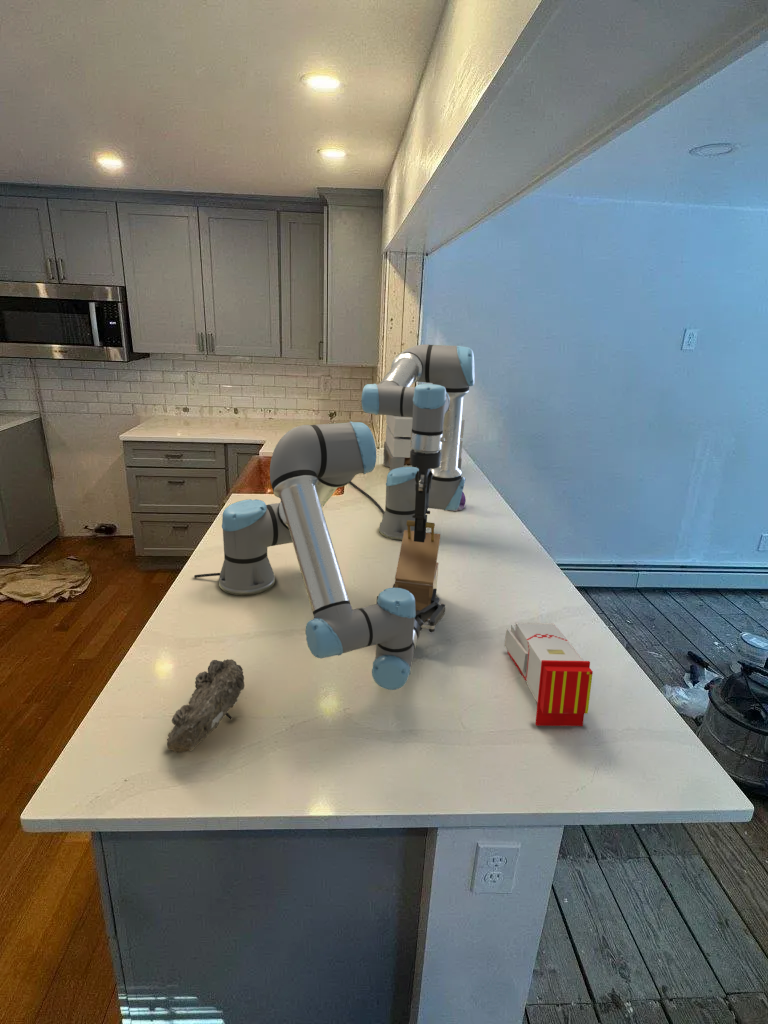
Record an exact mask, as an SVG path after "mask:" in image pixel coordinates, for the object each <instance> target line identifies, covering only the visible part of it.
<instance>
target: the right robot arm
mask: <svg viewBox="0 0 768 1024" xmlns="http://www.w3.org/2000/svg"><path fill="white" fill-rule="evenodd" d="M390 365H391V366H390V369H389V370H388V372H387V373H386V375H384V377H383V378H382V380H381V381H380V382H379V383H378V384H377V383H367V384H365V385H364V386H363V388H362V391H361V409H362V411H363V412H364V413H366V414H372V415H375V416H379V415H381V416H386V415H392V416H405V417H413V420H412V431H411V445H410V447H411V448H412V450H411V451H410V465H411V466H404V467H400V468H396V469H393V470H391V471H390V470H389V472H388V473H387V475H386V482H385V504H384V505H385V507H384V508H385V509H383V507H382V506H381V505H380V504H379V503H378V501H376V500H375V498H373V497H372V496H371V495H370V494H369V493H367V492H366V491H365V490H363V489H362V488H360V487H359V486H358V485H356V484H355V483H354V482H352V480H351V481H350V482H349V483H348V484H350V485H351V486H353V487H354V488H355V489H357V490H358V491H359V492H360V493H362V494H363V495H365V496H366V497H367V498H368V499H369V500H371V502H373V503H374V505H375V506H377V508H378V509H379V510H380V512H381V513H382V514H383V515H382V519H381V522H379V527H378V533H379V534H380V535H381V536H382V537H385V538H387V539H389V540H395V541H402V540H403V535H404V530H408V528H407V525H406V524H407V520H411V521H415V526H411V531H414V541H415V542H425V538H426V533H427V528H426V522H428V515H431V510H428V509H434V510H442V511H451V510H457V509H458V508H459V504H460V500H461V496H462V492H463V493H464V486H465V483H466V478H465V476H462V475H463V474H462V469H461V470H460V469H459V468H458V456H459V444H460V439H461V438H460V433H461V421H462V419H463V408H464V398H465V395H467V394H468V393H469V392H470V387H473V386H475V379H476V378H475V373H476V371H475V370H476V369H475V355H474V350H473V349H472V348H471V347H469V346H461V345H451V344H450V345H449V344H448V345H446V344H443V345H442V344H426V343H425V344H424V343H423V344H417V345H413V346H411V347H408V348H406V349H405V350H403V351H400V352H399V353H398V354H397V355H396V356H395V357H394V358H393V360H392V362H391V364H390ZM414 383H421V384H417V385H416V386H412V385H413V384H414ZM457 511H458V510H457Z"/></svg>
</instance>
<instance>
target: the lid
mask: <svg viewBox="0 0 768 1024" xmlns="http://www.w3.org/2000/svg"><path fill="white" fill-rule="evenodd" d="M406 525H407V528H408V530H404V535H403V540H401V545H400V551H399V555H398V559H397V566H396V571H395V576H394V580H395V581H404V582H412V583H420V584H428V585H433V583H434V577H435V570H436V563H438V555H439V548H440V543H441V533H436V532H435V528H436V523H435V522H431V521H427V522H426V529H431V530H430V532H426V538H425V542H415V541H414V531H411V526H415V521H411V520H407V524H406ZM395 581H394V582H395Z"/></svg>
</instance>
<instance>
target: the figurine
mask: <svg viewBox="0 0 768 1024" xmlns="http://www.w3.org/2000/svg"><path fill="white" fill-rule="evenodd" d="M466 503H467V502H466V496H465V492H464V491H463V492H462V496H461V500H460V504H459V508H458V509H457V510H450V511H451V512H452V511H453V512H457V511H462V510H463V509H465V505H466Z"/></svg>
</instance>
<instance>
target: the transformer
mask: <svg viewBox="0 0 768 1024" xmlns="http://www.w3.org/2000/svg"><path fill="white" fill-rule="evenodd" d="M412 420H413V417H405V416H392V415H385V423H386V428H385V438H384V442H383V466H384V467H388V468H389V472H390V471H391V470H393V469H396V468H400V467H405V466H406V467H412V466H411V465H410V451H411V450H412V448H411V447H410V445H411V431H412ZM464 429H465V419H464V418H462V421H461V433H460V444H459V456H458V468H459V469H460V470H461V471H462V461H463V460H462V453H463V442H464V441H463V440H462V439H463V438H464V431H465V430H464Z"/></svg>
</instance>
